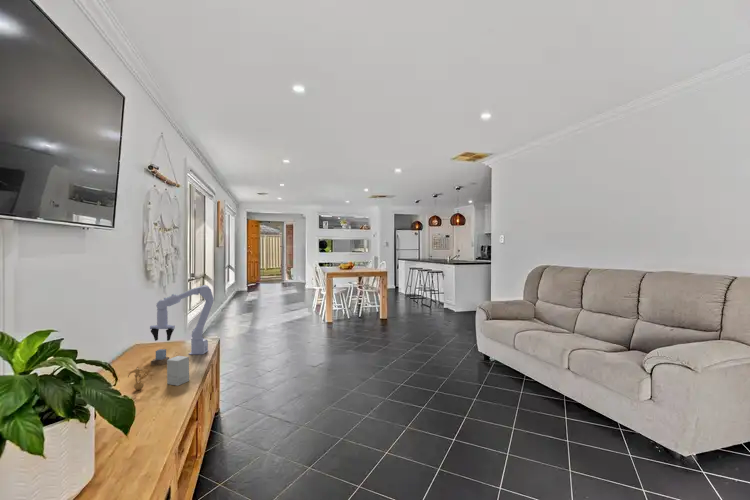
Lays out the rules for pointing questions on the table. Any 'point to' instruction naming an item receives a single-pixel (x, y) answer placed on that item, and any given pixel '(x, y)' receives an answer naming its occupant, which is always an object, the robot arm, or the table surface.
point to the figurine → (139, 384)
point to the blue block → (160, 354)
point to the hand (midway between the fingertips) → (162, 340)
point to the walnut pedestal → (159, 361)
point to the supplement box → (177, 370)
